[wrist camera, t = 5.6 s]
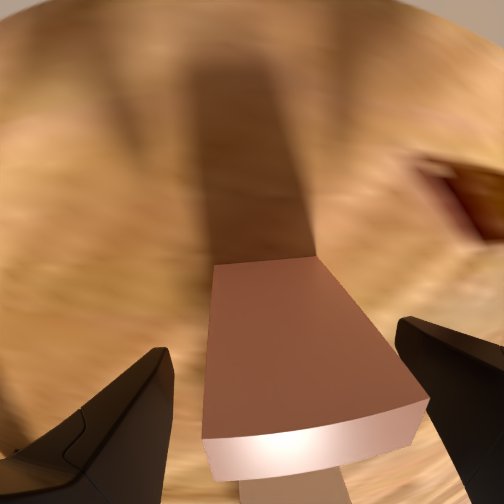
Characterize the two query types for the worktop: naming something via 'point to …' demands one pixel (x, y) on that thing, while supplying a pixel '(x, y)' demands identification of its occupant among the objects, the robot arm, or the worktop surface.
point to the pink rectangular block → (298, 375)
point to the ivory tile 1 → (297, 489)
